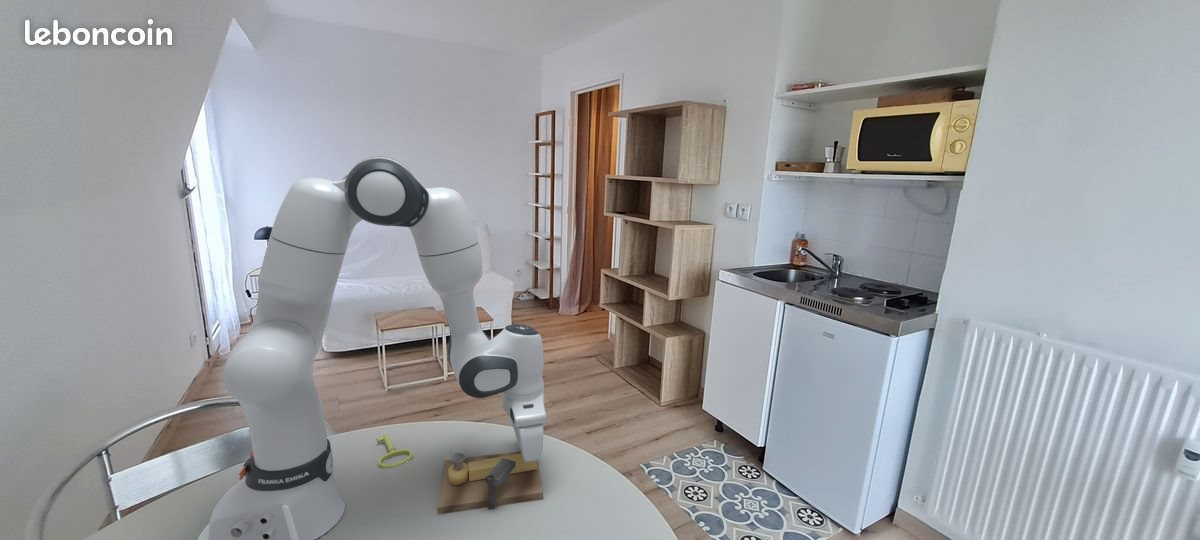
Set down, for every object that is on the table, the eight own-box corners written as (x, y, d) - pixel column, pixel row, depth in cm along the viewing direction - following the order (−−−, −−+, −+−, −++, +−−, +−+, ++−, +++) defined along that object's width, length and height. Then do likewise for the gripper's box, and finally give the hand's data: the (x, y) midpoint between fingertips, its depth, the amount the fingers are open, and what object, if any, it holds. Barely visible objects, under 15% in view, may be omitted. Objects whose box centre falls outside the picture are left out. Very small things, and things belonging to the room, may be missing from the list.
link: (448, 486, 95) (448, 476, 94) (448, 474, 99) (448, 464, 98) (537, 470, 100) (537, 460, 100) (534, 459, 104) (533, 449, 104)
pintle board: (437, 519, 88) (435, 487, 87) (444, 466, 104) (442, 438, 103) (544, 503, 93) (543, 473, 92) (535, 455, 109) (535, 428, 107)
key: (386, 440, 114) (386, 432, 114) (417, 458, 107) (416, 450, 107) (357, 454, 108) (356, 446, 108) (387, 475, 102) (386, 466, 101)
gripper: (501, 379, 110) (503, 433, 113) (516, 424, 91) (517, 487, 94) (528, 376, 112) (529, 428, 115) (548, 419, 93) (548, 481, 96)
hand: (524, 455), depth 104 cm, fingers closed
